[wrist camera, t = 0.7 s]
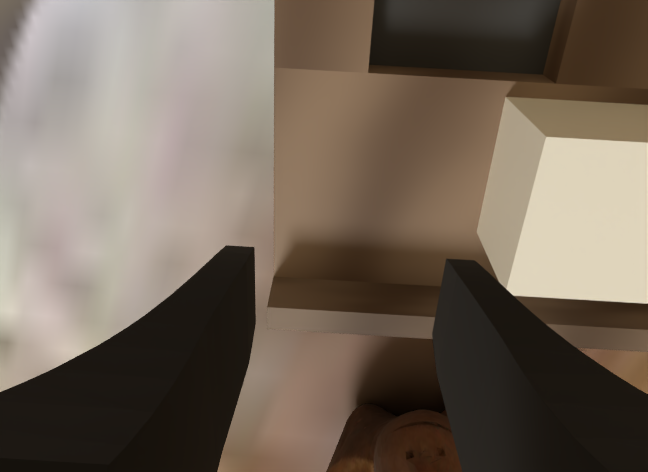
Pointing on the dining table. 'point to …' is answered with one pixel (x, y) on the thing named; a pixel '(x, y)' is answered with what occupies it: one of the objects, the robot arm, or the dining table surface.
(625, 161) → the cream block
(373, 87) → the trap box
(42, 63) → the dining table surface
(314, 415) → the dining table surface
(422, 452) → the decorative turtle
